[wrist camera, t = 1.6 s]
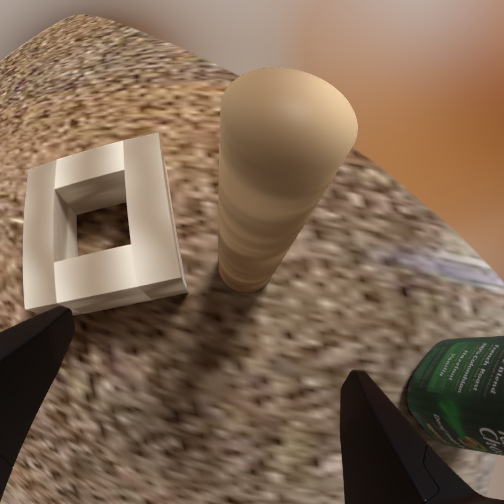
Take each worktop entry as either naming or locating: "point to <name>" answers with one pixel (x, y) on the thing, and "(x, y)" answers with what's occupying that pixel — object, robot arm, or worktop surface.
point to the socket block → (108, 261)
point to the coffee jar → (462, 393)
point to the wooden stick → (274, 166)
